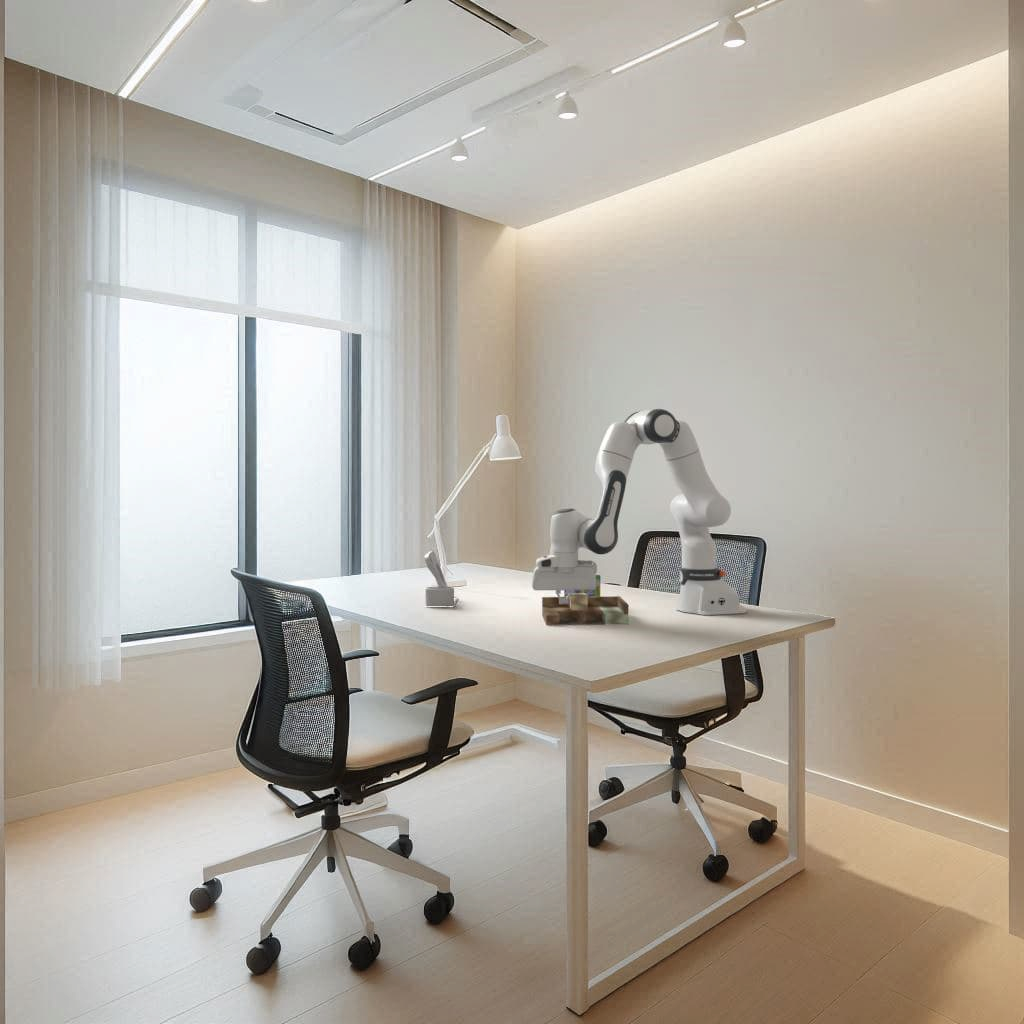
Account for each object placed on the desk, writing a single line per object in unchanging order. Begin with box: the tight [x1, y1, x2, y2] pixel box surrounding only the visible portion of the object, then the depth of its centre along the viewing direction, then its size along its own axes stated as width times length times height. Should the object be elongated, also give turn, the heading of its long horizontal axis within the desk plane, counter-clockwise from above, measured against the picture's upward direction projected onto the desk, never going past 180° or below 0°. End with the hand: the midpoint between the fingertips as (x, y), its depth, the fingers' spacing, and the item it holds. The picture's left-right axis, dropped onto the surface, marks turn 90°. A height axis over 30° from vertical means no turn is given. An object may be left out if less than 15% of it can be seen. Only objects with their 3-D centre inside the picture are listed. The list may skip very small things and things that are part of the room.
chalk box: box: [563, 574, 601, 597], centre depth 260 cm, size 9×9×15 cm
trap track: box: [541, 595, 630, 626], centre depth 241 cm, size 25×15×6 cm, turn 92°
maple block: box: [570, 593, 588, 610], centre depth 243 cm, size 5×5×4 cm
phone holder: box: [424, 550, 459, 606], centre depth 270 cm, size 17×10×18 cm, turn 179°
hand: (563, 604), depth 243 cm, fingers closed
